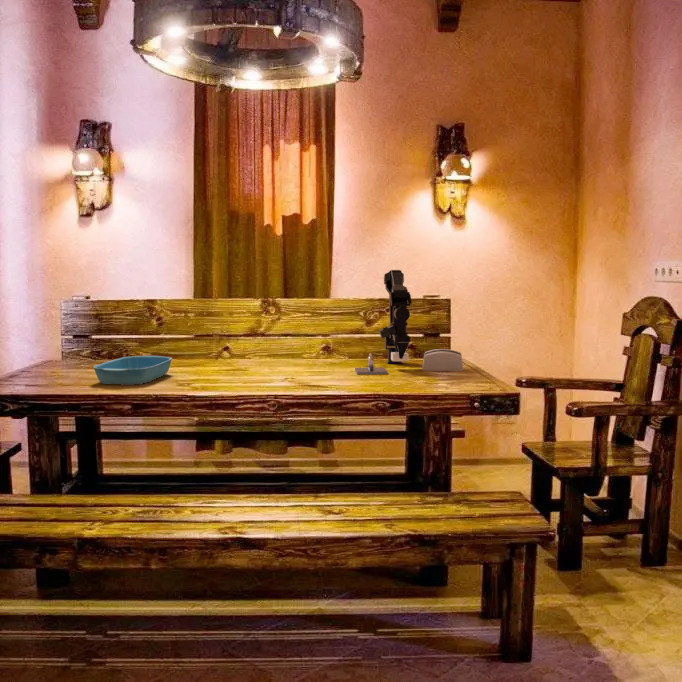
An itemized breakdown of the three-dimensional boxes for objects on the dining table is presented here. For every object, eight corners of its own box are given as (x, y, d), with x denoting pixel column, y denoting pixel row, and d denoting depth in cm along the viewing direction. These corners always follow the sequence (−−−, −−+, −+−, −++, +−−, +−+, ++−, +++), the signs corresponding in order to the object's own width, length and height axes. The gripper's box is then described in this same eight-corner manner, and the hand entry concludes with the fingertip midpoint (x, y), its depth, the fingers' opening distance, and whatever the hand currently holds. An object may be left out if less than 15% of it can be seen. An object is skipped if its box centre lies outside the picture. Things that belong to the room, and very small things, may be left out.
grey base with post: (354, 370, 298) (354, 352, 298) (383, 369, 299) (383, 351, 298) (357, 374, 286) (357, 355, 286) (387, 374, 287) (387, 355, 286)
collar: (390, 359, 302) (390, 352, 302) (406, 359, 302) (406, 352, 302) (392, 361, 295) (392, 354, 295) (408, 361, 296) (408, 353, 296)
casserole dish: (143, 388, 260) (142, 368, 259) (84, 387, 263) (83, 367, 262) (179, 373, 296) (179, 355, 296) (127, 372, 299) (127, 355, 299)
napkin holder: (462, 369, 299) (463, 347, 295) (463, 374, 295) (463, 352, 291) (422, 368, 301) (422, 347, 297) (421, 374, 297) (421, 352, 293)
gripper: (377, 318, 306) (377, 355, 308) (382, 321, 287) (382, 361, 289) (403, 318, 307) (403, 354, 308) (410, 321, 288) (410, 360, 290)
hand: (399, 357), depth 299 cm, fingers closed on collar, 6 cm apart
